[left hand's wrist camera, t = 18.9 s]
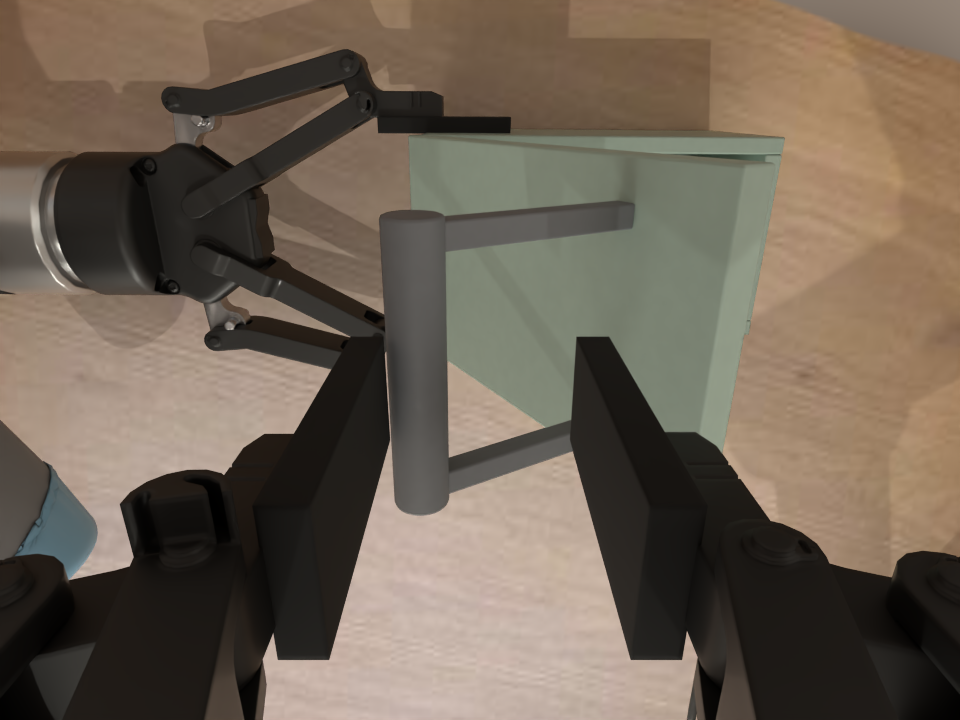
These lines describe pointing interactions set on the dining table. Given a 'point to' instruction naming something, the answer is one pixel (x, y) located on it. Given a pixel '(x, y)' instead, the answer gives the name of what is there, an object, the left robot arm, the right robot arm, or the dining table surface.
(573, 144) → the chest
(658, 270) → the lid
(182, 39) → the dining table surface
